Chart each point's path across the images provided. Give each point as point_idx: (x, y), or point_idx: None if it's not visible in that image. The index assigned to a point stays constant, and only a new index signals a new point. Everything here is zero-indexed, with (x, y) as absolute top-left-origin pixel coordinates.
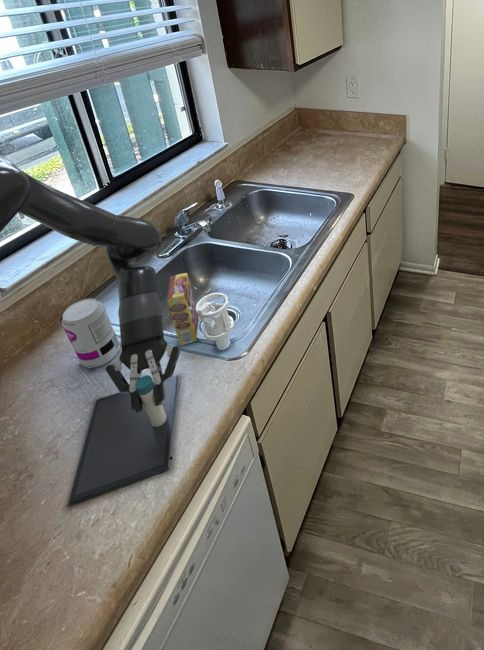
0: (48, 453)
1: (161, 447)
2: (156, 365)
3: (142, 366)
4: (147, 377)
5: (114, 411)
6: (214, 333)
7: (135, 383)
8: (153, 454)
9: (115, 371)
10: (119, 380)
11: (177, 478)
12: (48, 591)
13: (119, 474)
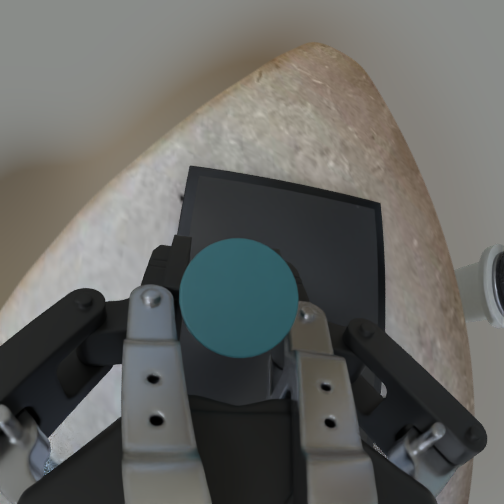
0: (431, 346)
1: (202, 223)
2: (123, 382)
3: (251, 425)
4: (211, 327)
5: None
6: (4, 502)
7: (296, 307)
8: (222, 213)
9: (435, 417)
10: (395, 367)
11: (175, 146)
12: (359, 107)
13: (299, 205)
